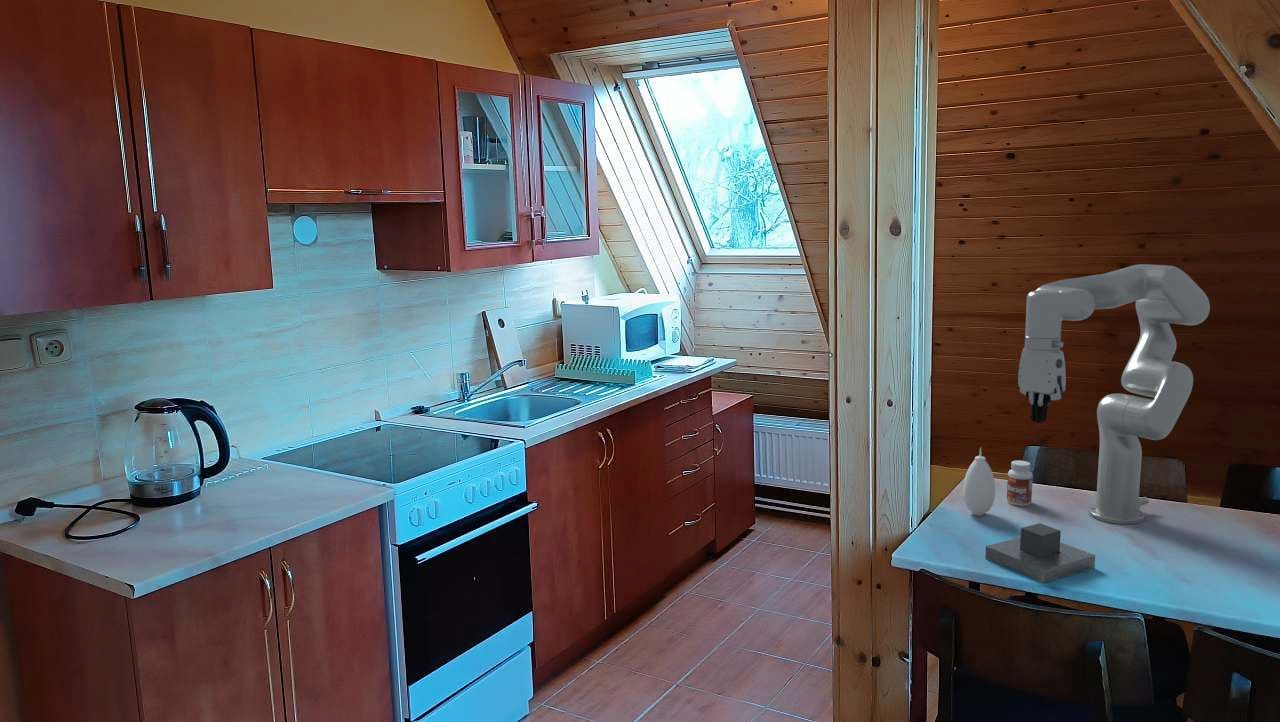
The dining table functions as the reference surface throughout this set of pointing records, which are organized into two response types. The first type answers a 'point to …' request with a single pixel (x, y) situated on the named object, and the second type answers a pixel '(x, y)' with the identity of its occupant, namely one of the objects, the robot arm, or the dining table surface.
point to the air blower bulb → (979, 486)
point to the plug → (1040, 540)
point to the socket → (1040, 560)
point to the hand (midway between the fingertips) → (1038, 421)
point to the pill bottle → (1019, 484)
